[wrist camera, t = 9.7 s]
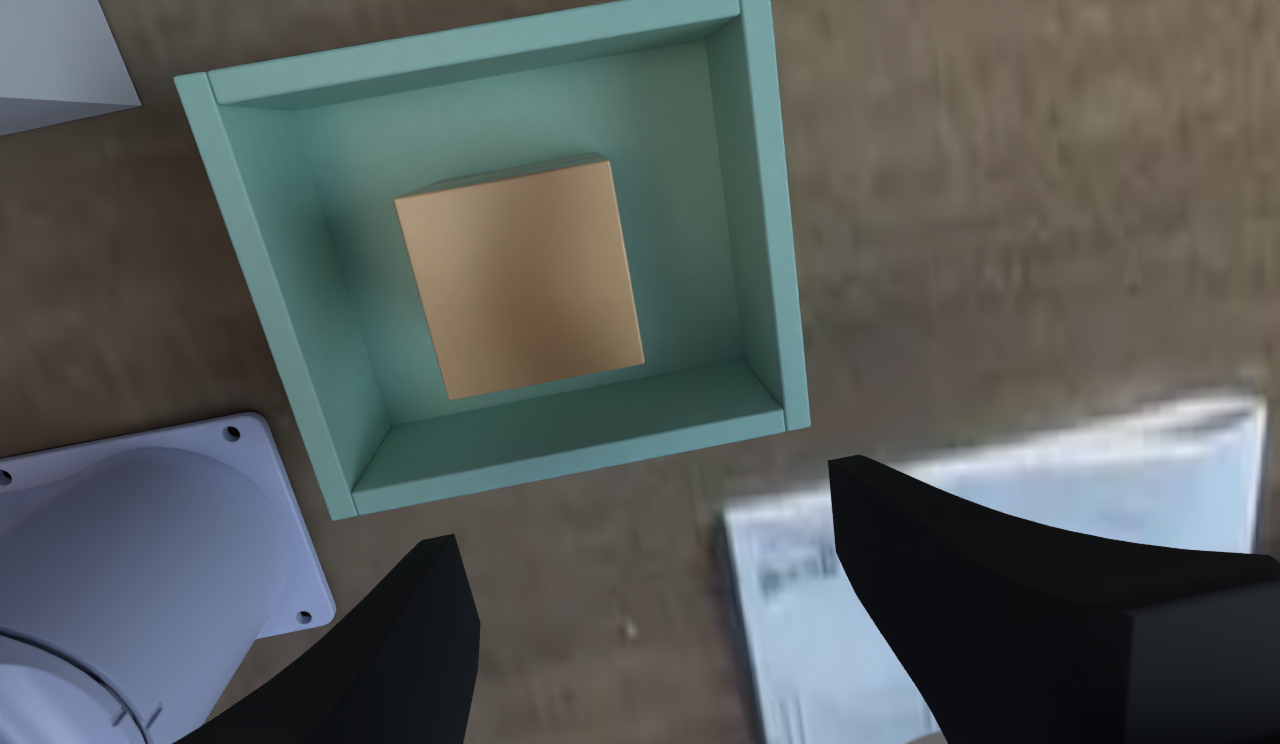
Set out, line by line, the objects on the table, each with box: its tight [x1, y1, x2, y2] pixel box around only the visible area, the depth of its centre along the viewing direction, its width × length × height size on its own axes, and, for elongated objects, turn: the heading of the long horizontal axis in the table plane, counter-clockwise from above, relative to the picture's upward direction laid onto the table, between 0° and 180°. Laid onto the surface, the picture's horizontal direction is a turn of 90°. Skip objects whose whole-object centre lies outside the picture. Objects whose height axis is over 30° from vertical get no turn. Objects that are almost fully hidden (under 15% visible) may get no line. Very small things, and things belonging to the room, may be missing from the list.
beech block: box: [393, 152, 645, 400], centre depth 18 cm, size 5×5×6 cm
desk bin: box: [173, 0, 811, 521], centre depth 19 cm, size 13×11×5 cm
